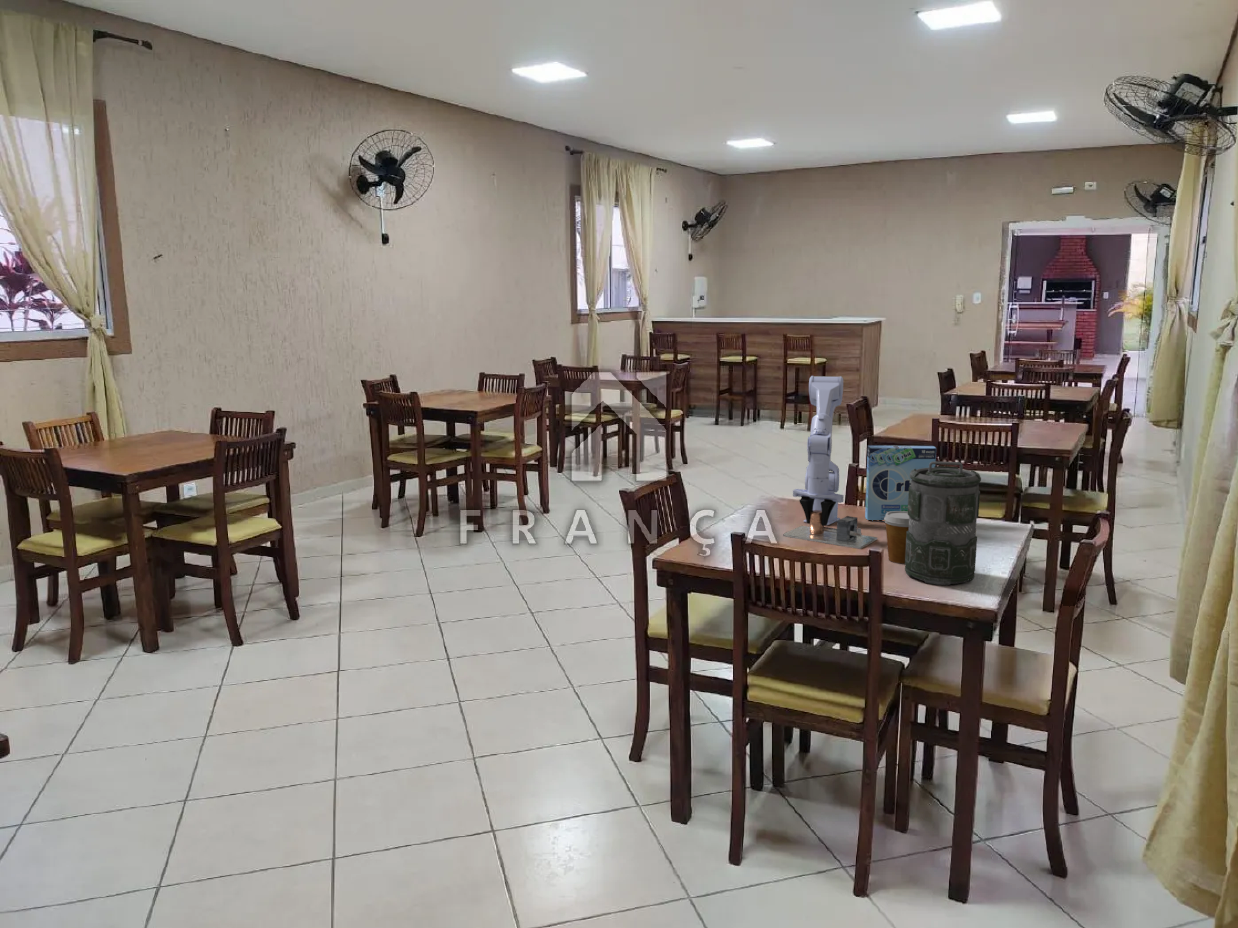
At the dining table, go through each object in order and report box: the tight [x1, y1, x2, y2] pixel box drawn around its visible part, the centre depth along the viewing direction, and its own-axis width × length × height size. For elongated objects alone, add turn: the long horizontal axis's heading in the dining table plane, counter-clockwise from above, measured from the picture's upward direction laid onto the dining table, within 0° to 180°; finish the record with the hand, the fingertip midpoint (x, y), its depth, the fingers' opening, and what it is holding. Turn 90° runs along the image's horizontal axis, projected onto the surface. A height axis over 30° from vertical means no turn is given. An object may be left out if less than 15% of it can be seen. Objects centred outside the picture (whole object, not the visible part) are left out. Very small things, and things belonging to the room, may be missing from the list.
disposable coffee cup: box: [884, 511, 909, 565], centre depth 218 cm, size 10×10×12 cm
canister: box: [904, 461, 982, 586], centre depth 203 cm, size 16×16×28 cm
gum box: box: [864, 444, 937, 522], centre depth 259 cm, size 19×5×23 cm, turn 82°
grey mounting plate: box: [782, 515, 878, 550], centre depth 241 cm, size 12×23×6 cm, turn 52°
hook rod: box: [809, 510, 863, 537], centre depth 240 cm, size 15×4×6 cm, turn 52°
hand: (816, 524), depth 243 cm, fingers closed on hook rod, 4 cm apart
